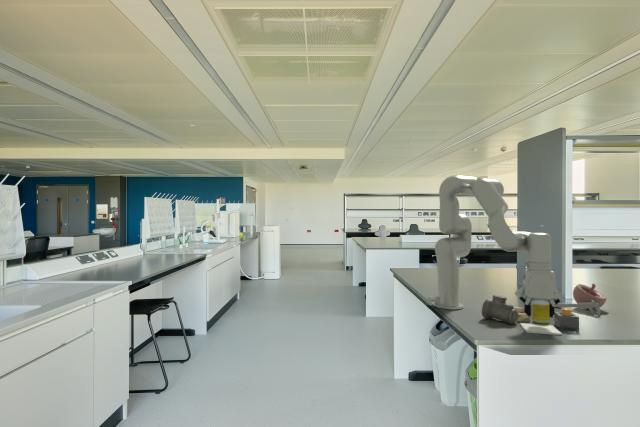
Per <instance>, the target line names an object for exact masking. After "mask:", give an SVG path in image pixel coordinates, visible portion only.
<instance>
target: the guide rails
mask: <svg viewBox="0 0 640 427" xmlns="http://www.w3.org/2000/svg"><path fill="white" fill-rule="evenodd" d="M514 309H516V310H517V312H518V320H517V322H520V323H530V322H529V316H527V315H526V313H525V312H524V307H518V306H517V307H515V306H514Z"/></svg>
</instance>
